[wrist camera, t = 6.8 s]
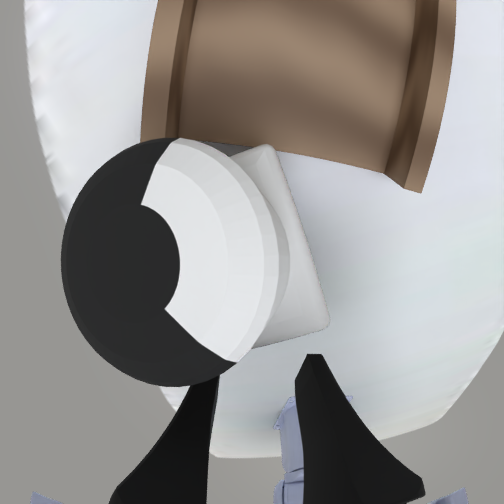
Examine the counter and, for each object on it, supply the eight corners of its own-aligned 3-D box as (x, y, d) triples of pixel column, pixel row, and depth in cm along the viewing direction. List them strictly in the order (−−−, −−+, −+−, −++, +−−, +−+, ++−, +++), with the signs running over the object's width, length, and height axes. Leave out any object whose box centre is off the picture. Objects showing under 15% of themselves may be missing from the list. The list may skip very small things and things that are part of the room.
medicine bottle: (213, 330, 18) (80, 419, 6) (181, 223, 18) (24, 184, 7) (324, 299, 16) (350, 390, 5) (287, 184, 17) (238, 57, 5)
